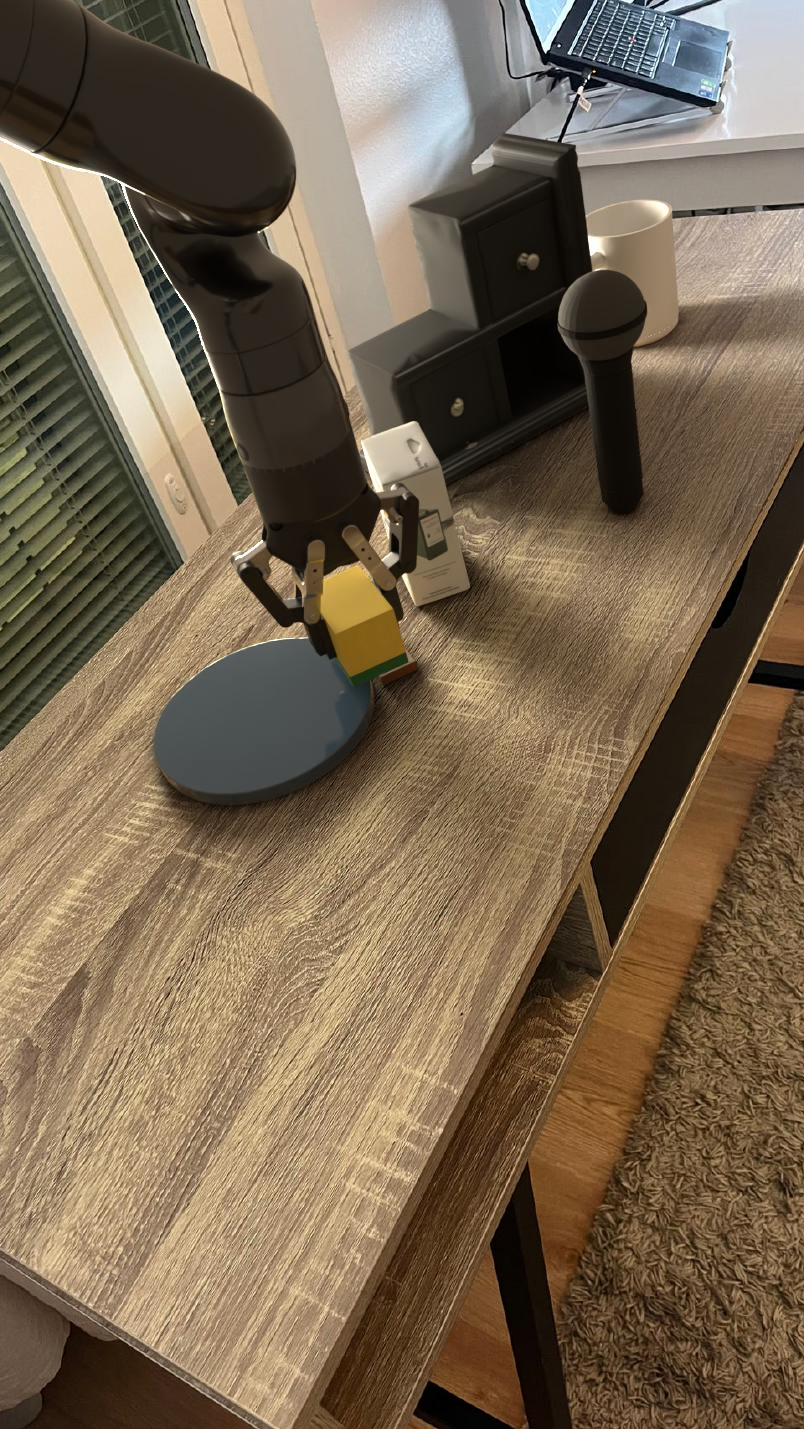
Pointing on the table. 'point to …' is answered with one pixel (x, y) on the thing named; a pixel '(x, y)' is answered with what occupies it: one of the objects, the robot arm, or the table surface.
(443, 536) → the ink box
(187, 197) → the robot arm
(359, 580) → the sponge
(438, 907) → the table surface
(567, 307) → the microphone
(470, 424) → the small black cabinet
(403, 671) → the orange brown flat block
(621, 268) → the mug
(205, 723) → the plate
